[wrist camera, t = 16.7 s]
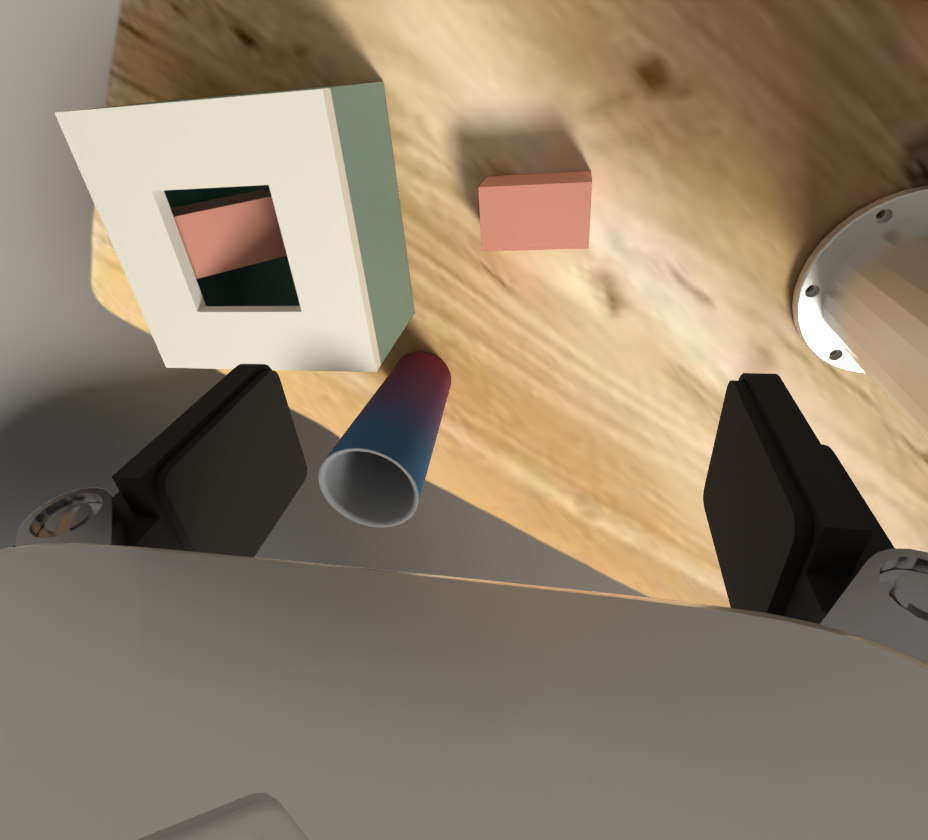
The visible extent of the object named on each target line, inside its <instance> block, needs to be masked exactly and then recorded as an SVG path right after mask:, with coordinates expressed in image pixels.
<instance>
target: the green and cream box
mask: <svg viewBox="0 0 928 840" xmlns="http://www.w3.org/2000/svg"><path fill="white" fill-rule="evenodd" d="M55 115H56V117H57V120H58V122H59V124H60V126H61V129H62V131H63V133H64V136H65V138H66V140H67V142H68V145H69V147H70V149H71V151H72V154H73V156H74V158H75V161H76V163H77V165H78V167H79V170H80V172H81V174H82V177H83V179H84V181H85V183H86V186H87V188H88V190H89V193H90V195H91V197H92V199H93V201H94V204H95V206H96V208H97V211H98V213H99V215H100V218H101V220H102V222H103V224H104V227H105V229H106V231H107V234H108V236H109V238H110V240H111V243H112V245H113V247H114V249H115V252H116V254H117V256H118V259H119V261H120V263H121V265H122V268H123V270H124V272H125V275H126V277H127V279H128V281H129V284H130V286H131V288H132V291H133V293H134V295H135V297H136V300H137V302H138V304H139V306H140V309H141V311H142V313H143V316H144V318H145V320H146V322H147V325H148V327H149V329H150V332H151V334H152V336H153V338H154V341H155V343H156V345H157V347H158V350H159V352H160V354H161V357H162V359H163V361H164V363H165V366H166V367H167V368H210V369H234V368H235V367H236V366H238V365H239V364H266V365H268V366H269V367H270V368H271V369H272V370H307V371H355V372H377V370H378V369H379V367H380V366H381V364H382V363H383V361H384V360H385V358H386V356H387V355H388V353H389V352H390V350H391V349H392V347H393V346H394V344H395V343H396V341H397V339H398V338H399V336H400V335H401V333H402V332H403V330H404V329H405V327H406V326H407V324H408V322H409V321H410V319H411V318H412V316H413V315H414V313H415V311H414V304H413V296H412V289H411V282H410V274H409V267H408V260H407V252H406V245H405V238H404V230H403V223H402V216H401V208H400V201H399V193H398V186H397V179H396V171H395V164H394V157H393V149H392V142H391V135H390V127H389V120H388V112H387V105H386V98H385V90H384V83H383V81H382V82H371V83H360V84H349V85H338V86H326V87H315V88H304V89H293V90H282V91H271V92H260V93H248V94H237V95H226V96H215V97H204V98H193V99H182V100H170V101H161V102H151V103H142V104H132V105H123V106H113V107H104V108H94V109H85V110H76V111H67V112H57V113H55ZM257 190H265V191H268V192H271V196H272V200H273V204H274V207H275V211H276V215H277V219H278V223H279V226H280V230H281V234H282V238H283V242H284V246H285V249H286V253H287V255H286V256H283V257H279V258H275V259H271V260H267V261H264V262H260V263H256V264H252V265H248V266H245V267H241V268H237V269H233V270H229V271H225V272H222V273H218V274H214V275H210V276H206V277H203V278H199V279H196V277H195V275H194V272H193V269H192V266H191V264H190V261H189V258H188V255H187V253H186V250H185V247H184V244H183V242H182V239H181V236H180V233H179V231H178V228H177V225H176V222H175V220H174V217H173V214H172V212H171V209H170V208H173V207H178V206H183V205H188V204H193V203H198V202H203V201H208V200H213V199H218V198H223V197H228V196H233V195H238V194H243V193H248V192H253V191H257Z"/></svg>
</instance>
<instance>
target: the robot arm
mask: <svg viewBox="0 0 928 840" xmlns="http://www.w3.org/2000/svg"><path fill="white" fill-rule="evenodd" d="M881 210H882V212H881V214H880V215H879V216H877V214H878V213H879V212H880V211H881ZM876 216H877V217H876ZM811 285H812V286H811ZM809 286H811V288H810V289H808V290H806V289H807V288H808V287H809ZM792 310H793V319H794V324H795V326H796V329H797V331H798V334H799V336H800V337H801V339H802V340H803V341H804V343H805V344H806V346H807V347H808V348H809V349H810V350H811V351H812V352H813V353H814V354H815V355H816V356H817V357H818V358H820V359H821V360H823V361H824V362H825V363H827V364H829V365H832V366H834V367H837V368H840V369H842V370H845V371H851V372H856V373H863V374H867V375H868V377H869V378H870V379H871V380H872V381H873V382H874V383H875V384H876V385H877V387H878V388H879V389H880V390H881V391H882V392H883V393H884V394H885V395H886V397H887V398H888V399H889V400H890V401H891V402H892V403H893V404H894V405H895V406H896V408H897V409H898V410H899V411H900V412H901V413H902V414H903V415H904V416H905V418H906V419H907V420H908V421H909V422H910V423H911V424H912V425H913V426H914V428H915V429H916V430H917V431H918V432H919V433H920V434H921V435H922V436H923V438H924V439H925V440H926V441H927V442H928V185H926V186H921V187H916V188H912V189H907V190H902V191H900V192H897V193H894V194H891V195H889V196H886V197H883V198H881V199H878V200H877V201H875V202H873V203H871V204H869V205H867V206H865V207H863V208H862V209H860V210H858V211H856V212H855V213H854V214H852V215H851V216H850V217H848V218H847V219H845V220H844V221H843V222H841V223H840V224H838V225H837V226H836V227H835V228H834V229H833V230H832V231H831V232H830V233H829V234H828V235H827V236H826V237H825V238H824V239H823V240H822V241H821V242H820V243H819V245H818V246H817V247H816V249H815V250H814V251H813V252H812V254H811V255H810V256H809V258H808V260H807V261H806V263H805V265H804V267H803V269H802V270H801V272H800V274H799V277H798V280H797V283H796V286H795V289H794V295H793V303H792ZM306 475H307V466H306V462H305V459H304V455H303V452H302V449H301V446H300V443H299V439H298V436H297V433H296V429H295V426H294V423H293V420H292V417H291V413H290V410H289V407H288V404H287V400H286V397H285V394H284V391H283V387H282V384H281V381H280V378H279V376H278V374H277V373H276V372H275V371H272V369H271V368H270V367H269V366H268V365H266V364H239V365H238V366H236V367H235V368H234V369H233V370H232V371H231V372H230V373H229V374H227V375H226V376H225V377H224V378H223V379H222V380H221V381H219V382H218V383H217V384H216V385H215V386H214V387H213V388H212V389H211V390H209V391H208V392H207V393H206V394H205V395H204V396H203V397H201V398H200V399H199V400H198V401H197V402H196V403H195V404H193V405H192V406H191V407H190V408H189V409H188V410H187V411H186V412H184V413H183V414H182V415H181V416H180V417H179V418H178V419H176V421H174V422H173V423H172V424H171V425H170V426H169V427H167V428H166V429H165V430H164V431H163V432H162V433H161V434H160V435H158V437H156V438H155V439H154V440H153V441H152V442H150V443H149V444H148V445H147V446H146V447H145V448H144V449H143V450H141V451H140V452H139V453H138V454H137V455H136V456H135V457H134V458H132V459H131V460H130V461H129V462H128V463H127V464H126V465H124V466H123V467H122V468H121V469H120V470H119V471H118V472H117V473H116V474H114V475H113V476H112V478H113V480H114V482H115V483H116V485H117V487H118V489H119V490H120V491H119V492H118V493H117V494H116V495H115V496H114V497H112V495H111V493H110V492H108V491H107V490H105V489H102V488H95V487H94V488H83V489H79V490H75V491H71V492H68V493H66V494H63V495H61V496H58V497H56V498H54V499H52V500H51V501H49V502H47V503H45V504H43V505H42V506H41V507H39V508H38V509H37V510H35V511H34V512H33V513H31V514H30V515H29V516H28V518H27V519H26V520H25V521H24V522H23V523H22V525H21V528H20V530H19V533H18V537H17V541H16V545H15V546H13V547H9V548H4V549H0V840H928V553H927V552H922V551H917V550H912V549H895V548H894V546H893V545H892V543H891V542H890V540H889V539H888V537H887V535H886V534H885V532H884V531H883V529H882V527H881V526H880V524H879V523H878V521H877V520H876V518H875V516H874V515H873V513H872V512H871V510H870V509H869V507H868V505H867V504H866V502H865V501H864V499H863V497H862V496H861V494H860V493H859V491H858V490H857V488H856V486H855V485H854V483H853V482H852V480H851V478H850V477H849V475H848V474H847V472H846V471H845V469H844V467H843V466H842V464H841V463H840V461H839V460H838V458H837V456H836V455H835V453H834V452H833V451H832V449H831V448H830V447H829V446H826V445H821V444H820V442H819V440H818V439H817V437H816V435H815V434H814V432H813V431H812V429H811V427H810V426H809V424H808V422H807V421H806V419H805V417H804V416H803V414H802V413H801V411H800V409H799V408H798V406H797V404H796V403H795V401H794V399H793V398H792V396H791V395H790V393H789V391H788V390H787V388H786V386H785V385H784V383H783V381H782V380H781V378H780V377H779V376H778V375H777V374H751V373H743V374H742V375H741V376H740V378H739V381H730V382H729V384H728V386H727V390H726V394H725V399H724V403H723V408H722V412H721V416H720V421H719V425H718V430H717V434H716V439H715V443H714V447H713V452H712V456H711V461H710V465H709V470H708V474H707V478H706V483H705V487H704V495H703V501H704V508H705V512H706V516H707V520H708V523H709V527H710V531H711V535H712V538H713V542H714V546H715V550H716V553H717V557H718V561H719V565H720V568H721V572H722V576H723V580H724V583H725V587H726V591H727V595H728V598H729V602H730V606H731V608H728V607H720V606H713V605H706V604H699V603H692V602H684V601H676V600H666V599H656V598H647V597H638V596H629V595H620V594H611V593H602V592H592V591H582V590H573V589H564V588H553V587H545V586H534V585H526V584H516V583H507V582H496V581H487V580H478V579H469V578H458V577H449V576H439V575H429V574H418V573H409V572H398V571H389V570H379V569H369V568H359V567H349V566H337V565H328V564H318V563H308V562H297V561H286V560H276V559H265V558H254V556H255V555H256V553H257V552H258V550H259V549H260V547H261V546H262V544H263V543H264V541H265V540H266V538H267V537H268V535H269V534H270V532H271V530H272V529H273V528H274V526H275V525H276V523H277V521H278V520H279V518H280V517H281V515H282V514H283V512H284V511H285V509H286V508H287V506H288V505H289V503H290V502H291V500H292V499H293V497H294V496H295V494H296V493H297V491H298V490H299V488H300V487H301V485H302V484H303V482H304V480H305V478H306Z"/></svg>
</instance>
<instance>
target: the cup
mask: <svg viewBox="0 0 928 840" xmlns="http://www.w3.org/2000/svg"><path fill="white" fill-rule="evenodd" d="M450 385H451V375H450V372H449V369H448V367H447V366H446V365H445V363H444V362H443V361H442V360H441V359H439V358H438V357H437V356H435V355H433V354H430V353H427V352H413V353H409V354H407V355H406V356H404V357H403V358H402V359H401V360H400V361H399V362H398V364H397V365H396V366H395V368H394V369H393V370H392V372H391V373H390V374H389V376H388V377H387V378H386V380H385V381H384V382H383V384H382V385H381V386H380V387H379V389H378V390H377V391H376V393H375V394H374V395H373V397H372V398H371V399H370V401H369V402H368V403H367V405H366V406H365V407H364V409H363V410H362V411H361V413H360V414H359V415H358V416H357V418H356V419H355V420H354V422H353V423H352V424H351V426H350V427H349V428H348V430H347V431H346V432H345V434H344V435H343V436H342V438H341V439H340V440H339V442H338V443H337V444H336V446H335V447H334V448H333V450H332V451H331V452H330V454H329V455H328V456H327V457H326V459H325V460H324V462H323V463H322V464H321V467H320V470H319V485H320V488H321V490H322V493H323V495H324V497H325V498H326V499H327V501H328V502H329V503H330V505H331V506H333V508H334V509H335V510H337V511H338V512H339V513H341V514H342V515H343V516H345V517H347V518H349V519H350V520H353V521H355V522H357V523H360V524H363V525H367V526H373V527H390V526H395V525H398V524H401V523H403V522H405V521H406V520H408V519H409V518H410V517H411V516H412V515H413V514H414V513H415V511H416V509H417V506H418V503H419V499H420V496H421V492H422V488H423V485H424V481H425V477H426V474H427V470H428V466H429V463H430V459H431V455H432V452H433V448H434V444H435V441H436V437H437V433H438V430H439V426H440V422H441V419H442V415H443V411H444V408H445V404H446V400H447V396H448V393H449V389H450Z"/></svg>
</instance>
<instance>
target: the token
mask: <svg viewBox="0 0 928 840" xmlns="http://www.w3.org/2000/svg"><path fill="white" fill-rule="evenodd" d="M591 190H592V177H591V171H577V172H558V173H539V174H520V175H501V176H487V177H486V178H485V179H484V181H483V182H482V183H481V184H480V186H479V187H478V192H479V210H480V227H481V244H482V251H504V250H544V249H584V248H589V228H590V209H591Z"/></svg>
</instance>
